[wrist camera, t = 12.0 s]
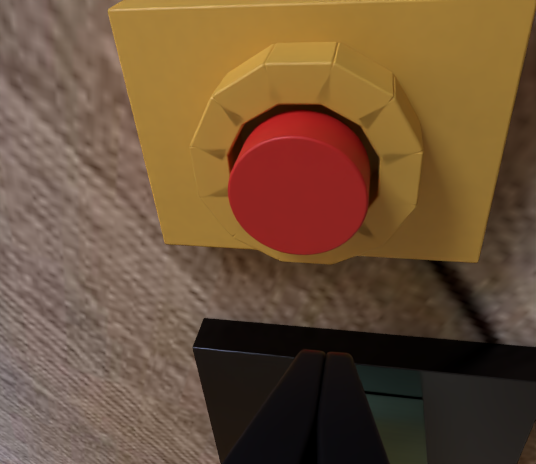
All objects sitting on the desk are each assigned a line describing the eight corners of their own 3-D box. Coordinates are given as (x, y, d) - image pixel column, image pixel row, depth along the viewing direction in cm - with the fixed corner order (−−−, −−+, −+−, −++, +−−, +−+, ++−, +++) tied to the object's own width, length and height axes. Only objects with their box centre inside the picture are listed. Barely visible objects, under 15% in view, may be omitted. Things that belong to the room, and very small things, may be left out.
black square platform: (539, 346, 23) (551, 383, 22) (484, 497, 32) (489, 531, 30) (203, 317, 26) (191, 347, 25) (234, 461, 35) (226, 490, 33)
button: (373, 109, 14) (372, 137, 13) (367, 225, 16) (365, 260, 15) (234, 108, 15) (218, 135, 13) (247, 219, 17) (235, 252, 16)
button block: (522, -24, 15) (559, 12, 12) (470, 227, 20) (486, 299, 17) (134, -8, 17) (77, 26, 14) (181, 213, 22) (148, 274, 19)
